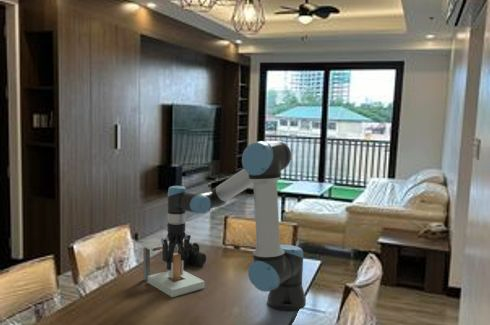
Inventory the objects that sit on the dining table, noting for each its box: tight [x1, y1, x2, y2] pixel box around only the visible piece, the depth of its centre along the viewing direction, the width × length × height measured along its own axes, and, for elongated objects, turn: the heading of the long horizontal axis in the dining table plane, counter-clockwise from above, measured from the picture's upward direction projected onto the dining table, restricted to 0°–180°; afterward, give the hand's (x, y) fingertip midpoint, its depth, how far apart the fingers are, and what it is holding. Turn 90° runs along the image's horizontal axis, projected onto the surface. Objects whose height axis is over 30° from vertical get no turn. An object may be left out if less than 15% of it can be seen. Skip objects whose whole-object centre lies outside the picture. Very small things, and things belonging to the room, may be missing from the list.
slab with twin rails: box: [142, 240, 184, 282], centre depth 199 cm, size 8×16×16 cm, turn 131°
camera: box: [177, 242, 207, 268], centre depth 218 cm, size 14×11×10 cm
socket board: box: [147, 269, 206, 298], centre depth 192 cm, size 20×16×3 cm
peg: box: [170, 252, 181, 282], centre depth 192 cm, size 4×4×12 cm
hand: (175, 275), depth 192 cm, fingers closed on peg, 4 cm apart
